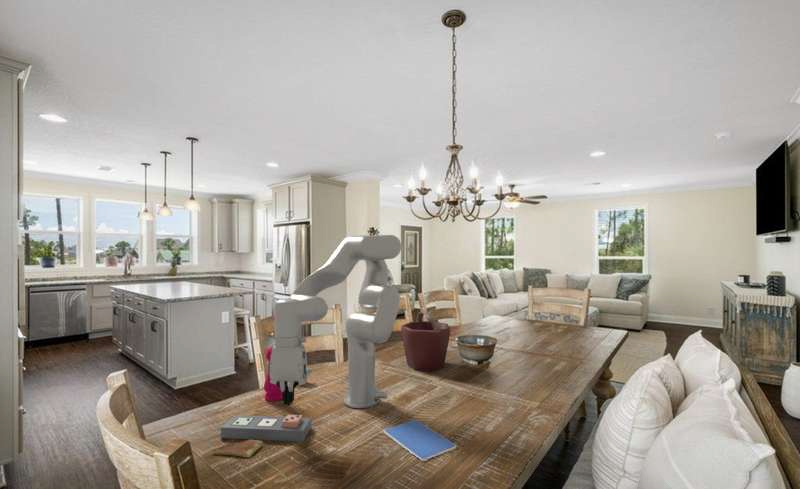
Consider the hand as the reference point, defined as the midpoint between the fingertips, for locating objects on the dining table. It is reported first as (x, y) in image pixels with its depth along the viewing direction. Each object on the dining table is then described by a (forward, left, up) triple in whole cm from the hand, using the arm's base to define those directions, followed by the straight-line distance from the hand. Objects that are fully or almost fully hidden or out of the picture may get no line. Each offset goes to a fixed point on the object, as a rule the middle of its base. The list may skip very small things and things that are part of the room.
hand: (288, 403), depth 111 cm
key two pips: (+14, 0, -8) cm, 16 cm away
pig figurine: (+10, -41, -9) cm, 43 cm away
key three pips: (-1, 0, -6) cm, 6 cm away
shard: (+9, +11, -10) cm, 17 cm away
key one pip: (+6, 0, -8) cm, 10 cm away
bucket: (-39, -68, -9) cm, 79 cm away
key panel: (+6, 0, -9) cm, 11 cm away
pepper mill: (+15, -25, -9) cm, 30 cm away
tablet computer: (-38, 0, -10) cm, 40 cm away
